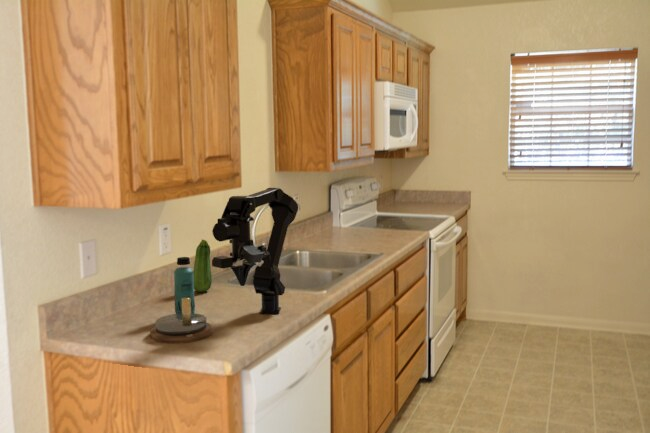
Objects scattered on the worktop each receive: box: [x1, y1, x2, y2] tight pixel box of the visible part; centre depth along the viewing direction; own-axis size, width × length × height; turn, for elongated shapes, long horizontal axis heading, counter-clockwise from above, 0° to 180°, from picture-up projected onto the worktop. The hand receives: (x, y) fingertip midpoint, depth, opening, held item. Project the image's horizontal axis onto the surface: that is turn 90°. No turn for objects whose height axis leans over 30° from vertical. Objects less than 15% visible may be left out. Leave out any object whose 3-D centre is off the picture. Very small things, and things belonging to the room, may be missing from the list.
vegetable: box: [193, 238, 213, 293], centre depth 253 cm, size 7×7×20 cm
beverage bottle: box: [173, 256, 196, 314], centre depth 218 cm, size 6×7×20 cm
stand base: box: [150, 322, 213, 344], centre depth 203 cm, size 18×18×2 cm
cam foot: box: [154, 297, 208, 336], centre depth 202 cm, size 15×15×10 cm
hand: (242, 285), depth 211 cm, fingers closed
